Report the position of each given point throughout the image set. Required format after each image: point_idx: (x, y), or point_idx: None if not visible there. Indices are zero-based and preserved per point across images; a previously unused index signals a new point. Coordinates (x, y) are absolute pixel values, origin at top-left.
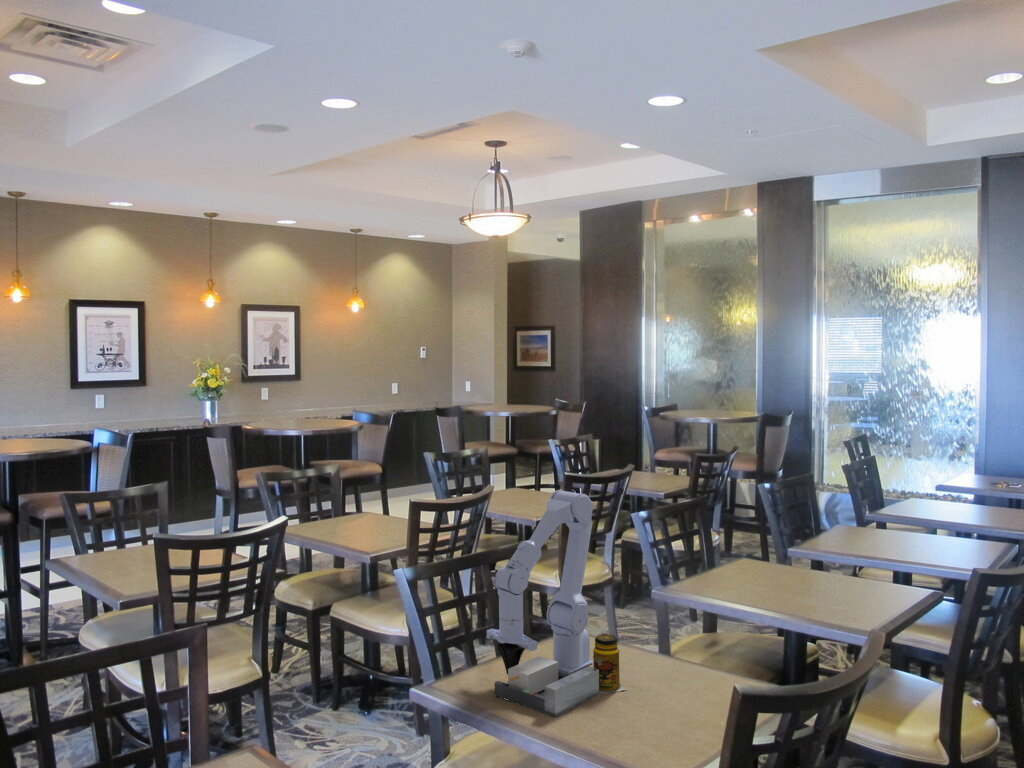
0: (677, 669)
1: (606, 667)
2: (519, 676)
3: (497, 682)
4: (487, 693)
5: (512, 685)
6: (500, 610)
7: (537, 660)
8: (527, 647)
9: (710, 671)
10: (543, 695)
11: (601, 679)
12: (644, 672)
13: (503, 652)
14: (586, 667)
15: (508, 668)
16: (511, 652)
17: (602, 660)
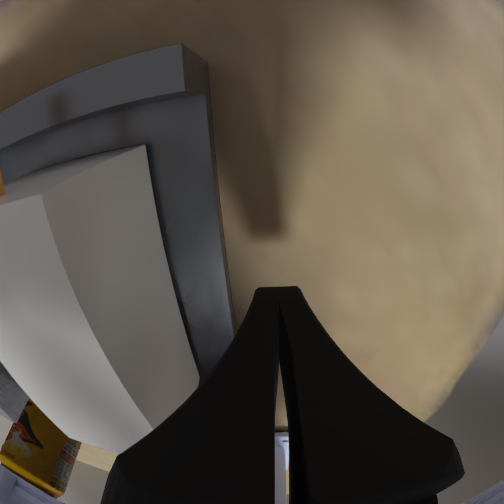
0: (103, 463)
1: (12, 426)
2: None
3: (156, 61)
4: (279, 57)
5: (87, 159)
6: None
7: (121, 435)
8: (33, 499)
9: (82, 461)
10: None
11: (29, 400)
12: (112, 454)
13: (324, 440)
14: (7, 415)
15: (268, 313)
16: (115, 463)
17: (8, 441)
